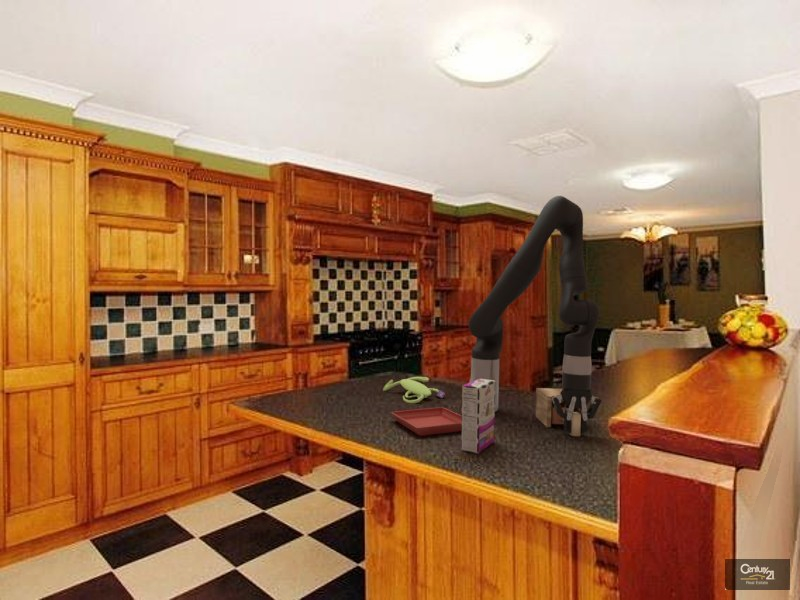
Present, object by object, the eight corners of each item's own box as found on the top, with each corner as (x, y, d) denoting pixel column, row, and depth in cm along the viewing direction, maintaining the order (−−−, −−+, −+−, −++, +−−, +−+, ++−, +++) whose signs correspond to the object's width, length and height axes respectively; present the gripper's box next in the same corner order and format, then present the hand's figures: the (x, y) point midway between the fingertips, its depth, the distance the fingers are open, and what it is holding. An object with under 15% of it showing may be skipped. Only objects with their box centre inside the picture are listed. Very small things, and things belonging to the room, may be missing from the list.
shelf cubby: (546, 427, 139) (547, 396, 139) (535, 416, 151) (536, 388, 151) (585, 428, 139) (586, 397, 139) (571, 417, 151) (572, 389, 151)
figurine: (421, 387, 194) (422, 373, 194) (454, 401, 170) (454, 386, 170) (380, 389, 187) (380, 375, 187) (407, 405, 162) (407, 389, 162)
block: (565, 436, 130) (566, 414, 130) (546, 418, 148) (546, 399, 148) (587, 436, 130) (588, 415, 130) (565, 419, 148) (565, 400, 148)
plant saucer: (390, 421, 142) (390, 411, 142) (442, 416, 149) (442, 406, 149) (416, 440, 125) (417, 427, 125) (474, 433, 133) (474, 421, 133)
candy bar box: (477, 438, 126) (478, 377, 126) (494, 442, 124) (496, 380, 123) (459, 450, 117) (461, 384, 116) (478, 454, 114) (480, 387, 114)
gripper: (555, 373, 128) (554, 436, 128) (607, 374, 128) (605, 437, 128) (547, 368, 135) (545, 428, 136) (596, 369, 135) (594, 429, 136)
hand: (574, 432), depth 132 cm, fingers closed on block, 3 cm apart
